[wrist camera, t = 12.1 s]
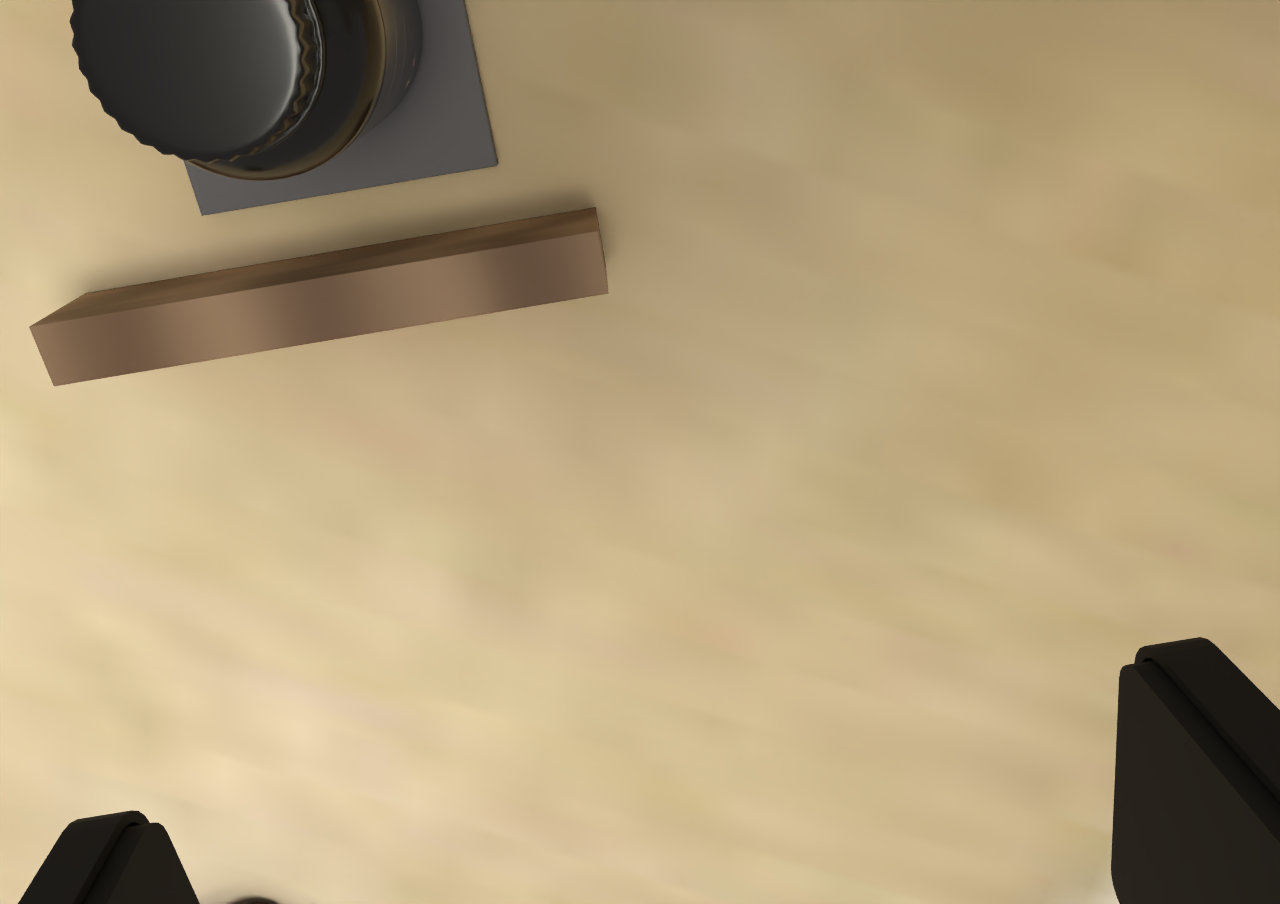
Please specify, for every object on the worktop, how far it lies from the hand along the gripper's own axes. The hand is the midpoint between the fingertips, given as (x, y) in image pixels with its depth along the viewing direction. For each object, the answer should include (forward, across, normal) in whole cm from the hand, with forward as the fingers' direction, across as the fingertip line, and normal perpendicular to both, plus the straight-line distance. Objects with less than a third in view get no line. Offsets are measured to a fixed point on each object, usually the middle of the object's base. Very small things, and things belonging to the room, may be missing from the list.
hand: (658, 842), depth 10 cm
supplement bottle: (+28, +8, -8) cm, 30 cm away
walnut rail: (+28, +9, 0) cm, 30 cm away
